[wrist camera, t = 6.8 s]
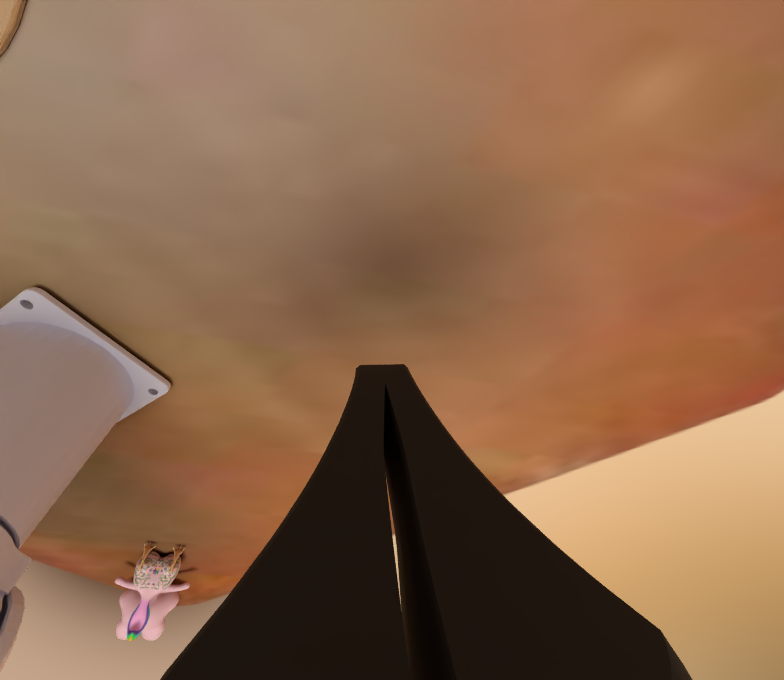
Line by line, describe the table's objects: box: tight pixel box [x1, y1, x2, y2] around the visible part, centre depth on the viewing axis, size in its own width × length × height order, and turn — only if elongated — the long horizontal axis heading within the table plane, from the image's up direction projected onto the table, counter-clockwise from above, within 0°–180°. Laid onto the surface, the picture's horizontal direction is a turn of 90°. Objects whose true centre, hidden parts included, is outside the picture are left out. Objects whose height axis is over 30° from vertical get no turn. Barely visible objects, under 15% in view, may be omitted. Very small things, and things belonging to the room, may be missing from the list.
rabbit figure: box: [115, 542, 190, 641], centre depth 32 cm, size 6×6×15 cm
